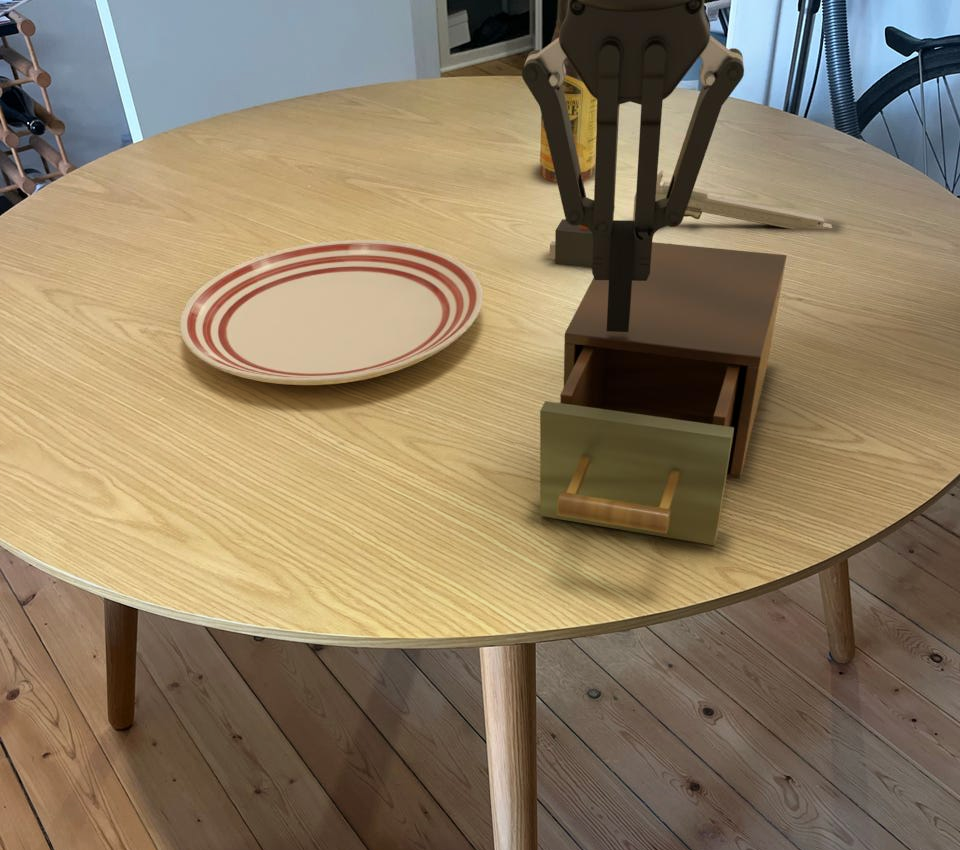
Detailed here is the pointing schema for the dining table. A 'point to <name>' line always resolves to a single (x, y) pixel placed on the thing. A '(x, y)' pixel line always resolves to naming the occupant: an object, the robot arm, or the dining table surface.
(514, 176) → the dining table surface
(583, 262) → the dark grey block
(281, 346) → the dinner plate
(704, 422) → the drawer
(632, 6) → the robot arm
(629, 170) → the dining table surface
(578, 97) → the sauce bottle
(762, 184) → the dining table surface
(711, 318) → the cabinet
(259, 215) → the dining table surface
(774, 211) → the caliper
